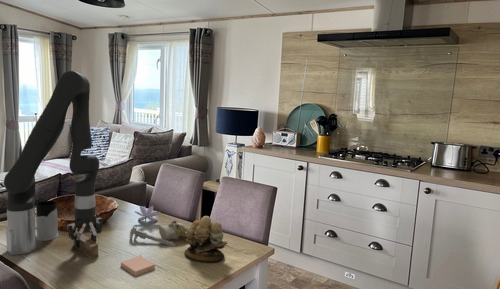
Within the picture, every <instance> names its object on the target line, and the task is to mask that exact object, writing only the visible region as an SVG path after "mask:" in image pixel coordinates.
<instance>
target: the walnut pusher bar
mask: <svg viewBox="0 0 500 289" xmlns="http://www.w3.org/2000/svg"><path fill="white" fill-rule="evenodd" d="M74 235H75V233H74ZM79 240H80V248H79V249H78V250H79V251H80V252H81V253H83V254H84V255H85V256H87V257H88V258H89V259H93V258H97V257H99V244H98V243H97V242H96V243H95V242H94V241H92V240H91V238H89V237H88V236H86V235H85V234H83V233H82V235H81V236H80V239H79Z"/></svg>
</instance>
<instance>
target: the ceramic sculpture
mask: <svg viewBox="0 0 500 289" xmlns="http://www.w3.org/2000/svg"><path fill="white" fill-rule="evenodd" d="M188 228H189V227H188ZM188 228H186V227H185V225H184V224H183V223H181V222H177V221H176V220H173V221H171V222H170V223H169V225H163V224H162V225H161V224H159V225H158V231H159V232H158V233H159V235H160V238H161V239H164V240H168V241H169V240H178V241H179V240H183V241H185V240H186V241H187V229H188Z"/></svg>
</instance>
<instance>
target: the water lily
mask: <svg viewBox="0 0 500 289" xmlns="http://www.w3.org/2000/svg"><path fill="white" fill-rule="evenodd" d="M139 210H140V212H139V211H134V213H135V214H136V215H139V216H140V217H138V220H137V221H139V220H140V221H144V225H145V227H146V224H147V220H150V221H152V222H153V221H154V222H158V221H159V220H158V218H156V216H159V215H161V211H157V210H154V205H150V206H149V207H148V208H147V207H146V206H145V205H143V206H142V205H139ZM154 217H155V218H154ZM140 221H139V222H140ZM144 225H143V226H144Z"/></svg>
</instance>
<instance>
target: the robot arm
mask: <svg viewBox="0 0 500 289" xmlns="http://www.w3.org/2000/svg"><path fill="white" fill-rule="evenodd" d="M90 84H91V83H90V81H89V78H87V77H86V76H85V75H83V74H81V73H79V72H77V71H75V70H68V71H64V72H63V73H62V74H61V75H60V76H59V78H58V80H57V82H56V85H55V86H54V89H53V92H52V94H51V96H50V99H49V100H48V102H47V104H46V105H45V107H44V109H43V111H42V113H41V115H40V116H39V118H38V119H37V121H36V122H35V124H34V126H33V128H32V130H31V131H30V134H29V136H28V138H27V139H26V142H25V144H24V146H23V149H22V151H21V153H20V155H19V157H18V159H17V160H16V161H15V163H14V164H13V165H12V167H11V169H10V170H8V172H7V173H6V174H5V176H4V179H3V186H4V188H5V190H6V191H7V200H6V219H7V220H6V221H7V226H6V227H5V236H6V237H5V238H6V251H7V252H8V254H9V255H10V256H15V255H24V254H28V253H29V254H30V253H31V252H34V251H35V250H36V247H37V242H36V241H37V239H36V236H37V234H36V229H35V227H36V215H35V214H36V210H35V208H36V207H35V204H36V203H35V200H36V177H35V175H36V173H37V171H38V169H39V166H40V165H41V163H42V162H43V161H44V160H45V158H46V157H47V155H48V154H49V153H50V152H51V150H52V149H53V147H54V146H55V145H56V142H57V141H58V139H59V138H60V135H62V132H63V130H64V128H65V123H66V116H67V112H68V109H69V106H70V105H71V103H72V116H71V122H70V135H71V136H70V137H71V146H72V147H71V154H70V159H69V170H70V171H71V173H72V174H74V175H84V177H82V178H80V179H78V180H76V181H75V184H74V192H75V193H74V195H75V196H74V204H73V206H74V221H73V222H72V223H68V224H66V230H67V233H68V234H67V235H68V237H69V239H70V240H72V241H73V246H74V248H76V249H77V250H79V248H80V240H79V239H80V236H81V235H82V234H83V232H86V231H90V233H91V234H90V239H91V240H92V241H94V242H95V243H97V235H98V234H101V233H102V229H103V224H104V219H103V218H102V217H100V216H99V217H96V214H97V213H96V195H95V192H96V191H95V190H96V189H95V188H96V186H95V184H96V180H97V176H98V173H99V169H100V161H99V158H98V156H96V155H95V154H87V155H86V154H85V155H82V152H83V151H84V150H89V149H91V148H92V147H93V141H92V139H93V138H92V132H91V123H90V93H91V92H90V91H91V90H90V89H91V85H90ZM85 174H86V175H85ZM95 224H96V225H95ZM94 225H95V226H96V227H95V226H94ZM75 228H76V229H75ZM74 229H75V231H74ZM74 234H75V235H74Z"/></svg>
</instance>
